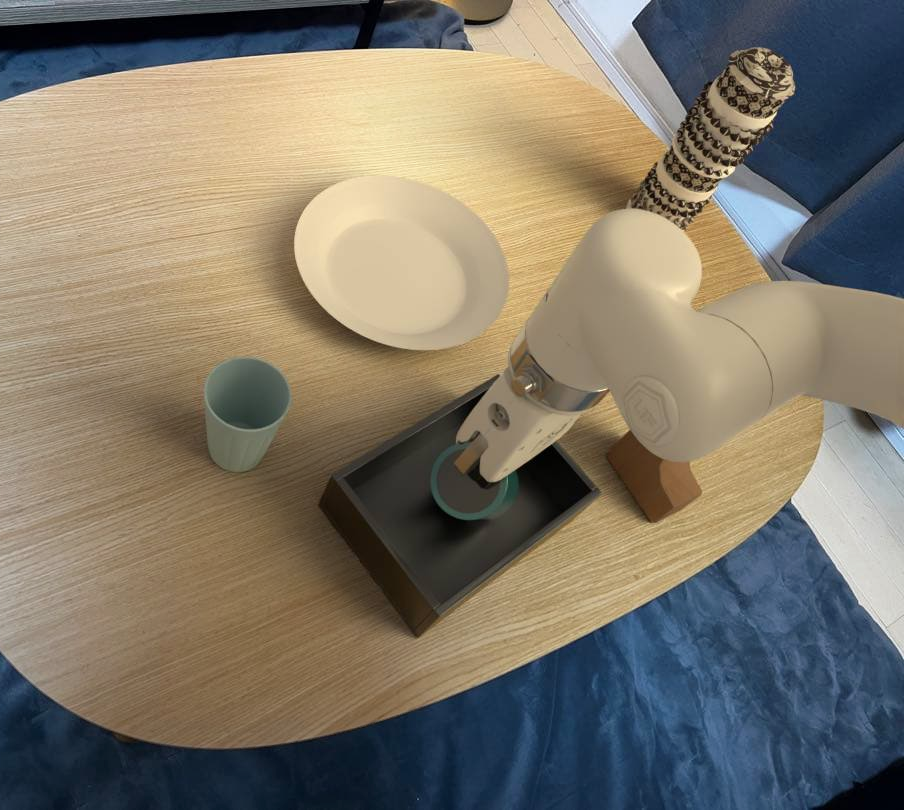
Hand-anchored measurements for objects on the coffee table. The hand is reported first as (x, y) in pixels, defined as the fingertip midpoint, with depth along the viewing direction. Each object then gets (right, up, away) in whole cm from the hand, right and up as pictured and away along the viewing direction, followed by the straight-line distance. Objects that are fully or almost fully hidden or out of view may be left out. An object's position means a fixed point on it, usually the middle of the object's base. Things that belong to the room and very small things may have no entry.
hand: (477, 471), depth 75 cm
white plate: (-6, +21, +23) cm, 32 cm away
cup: (-23, +2, +8) cm, 24 cm away
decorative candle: (+29, +31, +39) cm, 58 cm away
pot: (+2, -2, +8) cm, 9 cm away
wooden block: (+20, -3, +17) cm, 26 cm away
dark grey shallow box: (-2, -5, +9) cm, 11 cm away
